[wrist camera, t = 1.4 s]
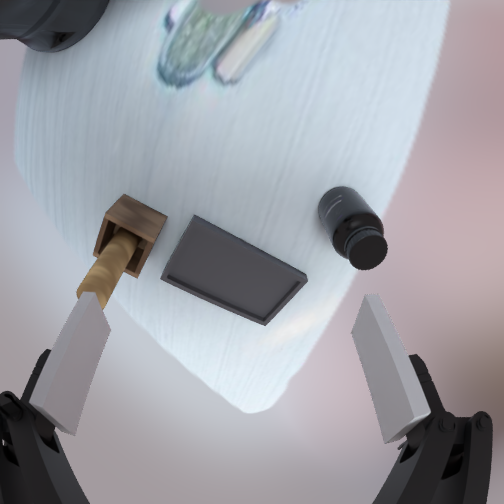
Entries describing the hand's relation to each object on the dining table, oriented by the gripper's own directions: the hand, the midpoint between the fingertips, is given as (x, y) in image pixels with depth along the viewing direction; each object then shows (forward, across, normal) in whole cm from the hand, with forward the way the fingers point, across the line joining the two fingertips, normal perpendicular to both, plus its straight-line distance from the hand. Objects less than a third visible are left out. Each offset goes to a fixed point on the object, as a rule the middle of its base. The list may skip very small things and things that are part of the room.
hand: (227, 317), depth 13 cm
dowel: (+26, -15, -9) cm, 32 cm away
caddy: (+27, -15, -9) cm, 32 cm away
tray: (+27, -1, -18) cm, 32 cm away
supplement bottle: (+27, +15, -6) cm, 31 cm away
